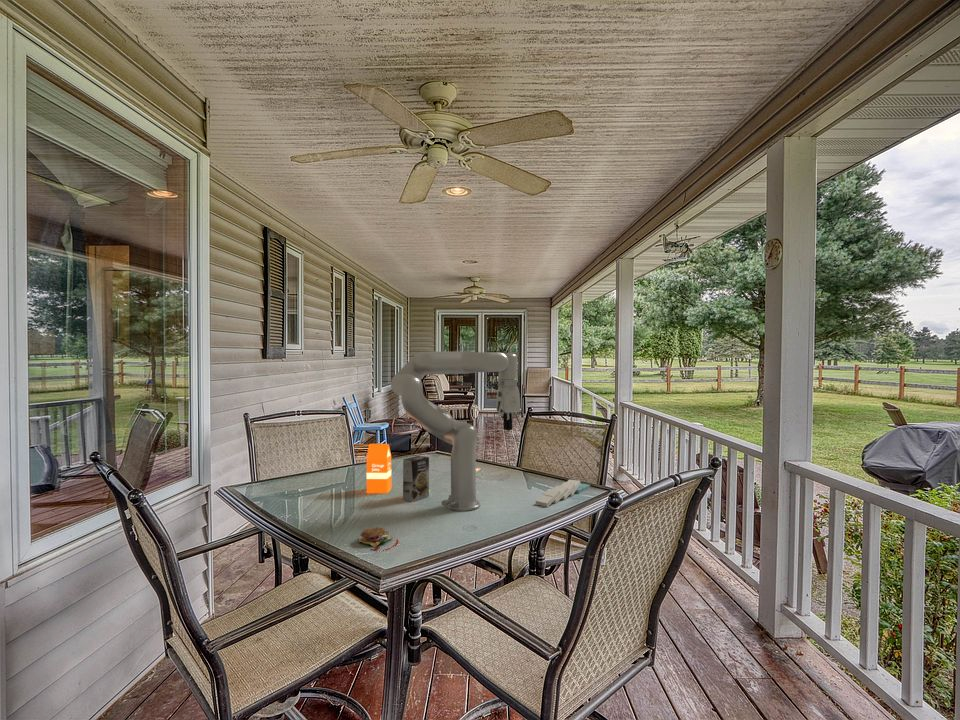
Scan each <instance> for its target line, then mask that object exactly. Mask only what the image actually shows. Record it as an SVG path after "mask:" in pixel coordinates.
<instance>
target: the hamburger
mask: <svg viewBox="0 0 960 720" xmlns="http://www.w3.org/2000/svg"><path fill="white" fill-rule="evenodd" d="M390 539H391V540H392V537H391V535H390V534H389V531H388V530H386V529H385V528H384V527H382V526H381V527H380V526H377V527H372V528H366V529H363V531H362V532H361V533H360V535H359V540H358V543H360V542H361V543H363V544H364V545H369V546H372V548H370V551H372V552H377V551H379V552H378V553H381V552H386V551H389V550H391V548H392V547H394V546H395V547H397V546H398V545H399V543H400V541H398V540H399V539H396V541H395V544H393V545H392V546H390V547H391V548H390V547H388V548H385V549H382V550H383V551H381V550H379V549H381V547H380V546H379V545H380V544H381V543H386V542H388V541H389V540H390ZM398 542H399V543H398ZM397 544H398V545H397ZM396 545H397V546H396ZM395 547H394V548H395ZM392 549H393V548H392ZM384 550H385V551H384ZM380 551H381V552H380Z"/></svg>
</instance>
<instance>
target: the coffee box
mask: <svg viewBox="0 0 960 720" xmlns="http://www.w3.org/2000/svg"><path fill="white" fill-rule="evenodd" d="M428 496H429V497H430V457H429V456H421V455H416V456H411V457H408V458H403V460H402V499H403V500H406V501H409V502H415V501H416V500H417V501H419V499H420V500H422V498H423V499H425V497H426V498H428Z"/></svg>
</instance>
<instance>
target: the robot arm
mask: <svg viewBox="0 0 960 720" xmlns="http://www.w3.org/2000/svg"><path fill="white" fill-rule="evenodd" d="M497 372H498V382H497V384H498V387H497V393H496V402H495V403H496V404H495V405H496V407H495V408H496V412H497V415H498V416H499V417H501V418H502V420H503V431H504V430H505V431H513V421H514V417H515V415H517V414H518V412H520V411H521V394H520V390H519V387H518V355H517V354H516V353H511V352H510V353H509V352H508V353H507V352H506V353H503V352H500V351H498V352H497V351H496V352H491V351H490V352H488V351H487V352H486V351H485V352H483V351H482V352H479V351H478V352H476V351H474V352H473V351H462V350H461V351H459V350H458V351H421V352H418V353H416V354H415V355H414V356H413V357H412V358H411V359H409V361H407V363H406V364H405V365H403V367H401V369H399V371H398V372H396V374H395V375H394V376H393V377H392V379H391V381H390V387H391V391H392V392H393V393H394V394H395V395H397V396H401V397H400V398H401V404H402V408H403V409H404V412H405V413H406V414H407V415H408V417H410V418H412V419H413V420H415V421H417V423H419V424H420V425H421V427H422V428H423V429H424V430H425V431H426V432H427V433H428V434H429V433H430V434H431V435H433V436H435V437H436V438H438V439H440V440H441V441H444V443H447V444H449V445H452V449H451V453H450V454H451V455H450V495H449V494H448V498H447V499H444V500H442V501H441V506H443V507H444V506H446V507H447V508H448V509H450V510H453V511H460V512H466V511H467V512H468V511H473V510H477V509H479V508H480V506H481V502H480V500H478V499H477V481H476V480H477V473H476V470H477V467H476V466H477V465H476V462H477V461H476V457H477V448H478V447H477V446H478V437H479V435H478V431H477V429H476V427H474V426H473V424H471V423H468V422H464V421H461V420H460V421H459V420H456V419H455V418H453V416H452V415H451V414H450V412H449V411H447V410H445V409H444V408H441V407H440V406H438V405H436V404H435V403H433V402H432V401H430V400H429V399H427V398H426V397H425V395H424V391H423V390H424V389H423V387H424V386H423V382H422V379H423V378H424V377H425V376H426V375H433V376H435V375H464V374H466V375H467V374H474V373H497Z"/></svg>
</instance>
